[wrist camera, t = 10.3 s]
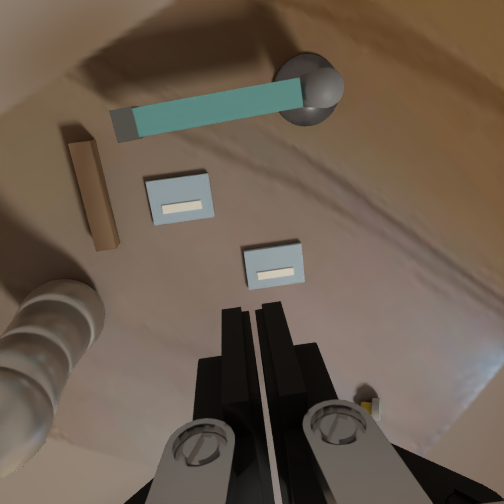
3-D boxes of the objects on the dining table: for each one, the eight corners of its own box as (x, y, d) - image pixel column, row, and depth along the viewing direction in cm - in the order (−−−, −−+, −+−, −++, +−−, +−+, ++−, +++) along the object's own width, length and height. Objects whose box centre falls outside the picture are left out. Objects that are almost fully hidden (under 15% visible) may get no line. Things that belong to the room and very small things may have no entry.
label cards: (293, 161, 34) (294, 162, 34) (303, 280, 38) (304, 282, 37) (146, 181, 34) (145, 182, 34) (170, 299, 38) (170, 301, 37)
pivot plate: (337, 50, 32) (338, 49, 32) (341, 121, 34) (341, 121, 33) (269, 58, 32) (269, 58, 32) (276, 130, 34) (276, 130, 33)
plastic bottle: (19, 283, 36) (-199, 478, 17) (94, 261, 36) (-43, 432, 17) (52, 346, 38) (-110, 580, 19) (123, 325, 38) (30, 540, 19)
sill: (95, 139, 33) (89, 141, 31) (120, 242, 36) (116, 248, 34) (74, 142, 33) (68, 143, 31) (101, 245, 36) (96, 251, 34)
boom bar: (321, 71, 32) (342, 64, 26) (324, 104, 33) (345, 104, 27) (126, 106, 32) (107, 107, 26) (134, 139, 32) (118, 146, 27)
